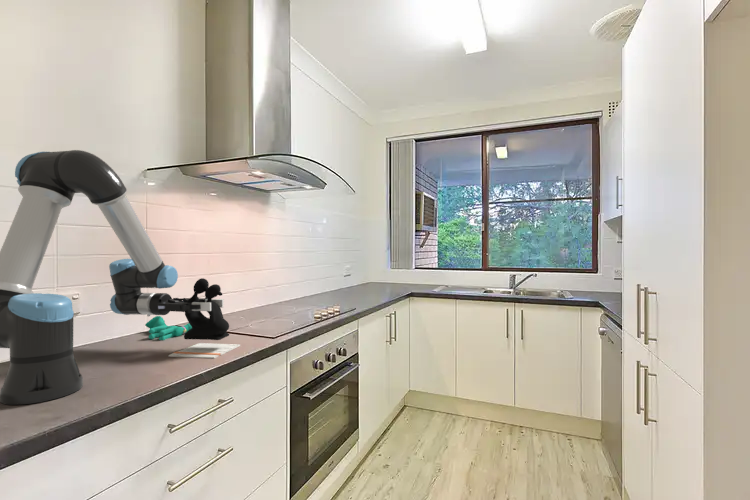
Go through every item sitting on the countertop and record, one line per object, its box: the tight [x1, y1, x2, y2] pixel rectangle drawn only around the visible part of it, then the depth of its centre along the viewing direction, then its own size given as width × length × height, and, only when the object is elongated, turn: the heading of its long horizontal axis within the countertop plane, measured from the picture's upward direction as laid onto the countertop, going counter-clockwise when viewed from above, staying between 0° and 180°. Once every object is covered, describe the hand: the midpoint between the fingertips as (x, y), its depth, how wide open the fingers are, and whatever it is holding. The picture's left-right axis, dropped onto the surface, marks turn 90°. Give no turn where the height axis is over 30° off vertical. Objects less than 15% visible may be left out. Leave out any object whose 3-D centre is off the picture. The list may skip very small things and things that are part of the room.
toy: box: [145, 315, 192, 341], centre depth 159 cm, size 7×22×20 cm
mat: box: [168, 342, 241, 359], centre depth 133 cm, size 16×16×1 cm
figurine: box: [183, 277, 230, 341], centre depth 133 cm, size 14×9×20 cm, turn 83°
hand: (216, 305), depth 133 cm, fingers closed on figurine, 7 cm apart
